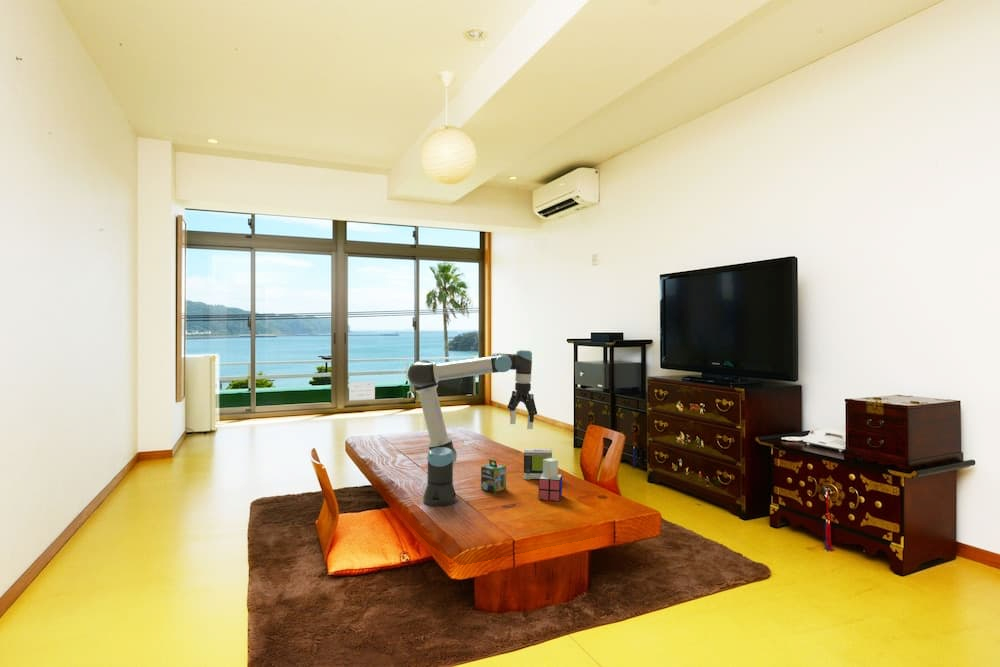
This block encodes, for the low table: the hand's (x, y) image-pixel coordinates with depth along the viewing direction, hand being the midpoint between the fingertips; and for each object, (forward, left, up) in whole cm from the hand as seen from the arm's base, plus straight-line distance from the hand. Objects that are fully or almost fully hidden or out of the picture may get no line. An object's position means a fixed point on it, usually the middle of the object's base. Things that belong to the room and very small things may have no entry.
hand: (521, 426), depth 263 cm
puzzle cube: (+8, -13, -33) cm, 36 cm away
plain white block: (+8, -13, -23) cm, 27 cm away
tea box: (+25, +16, -33) cm, 44 cm away
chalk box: (-7, +12, -33) cm, 36 cm away
